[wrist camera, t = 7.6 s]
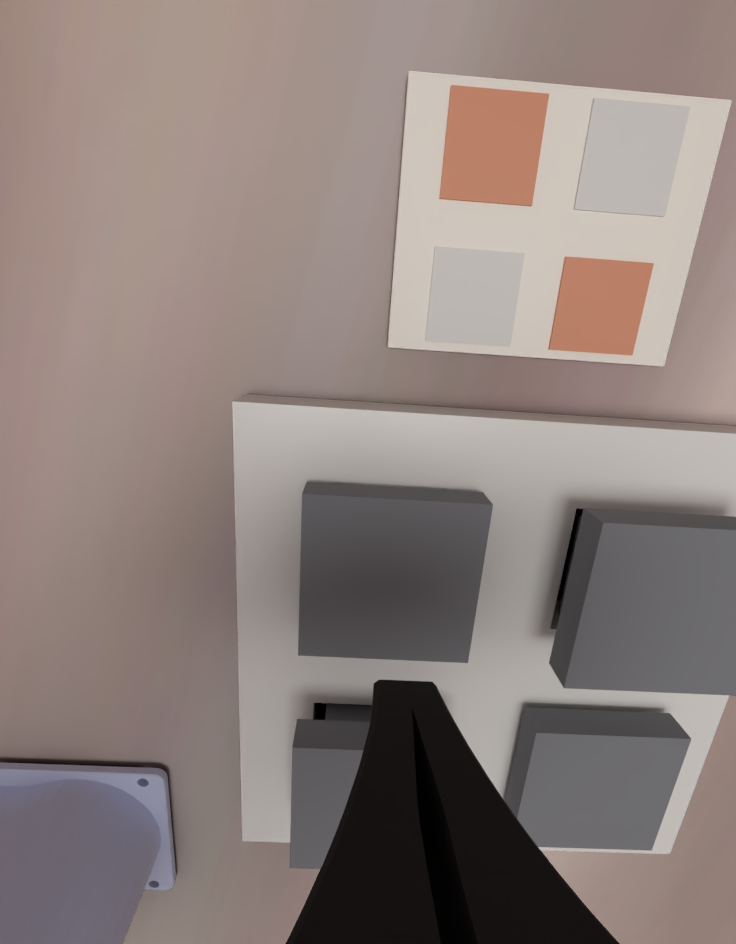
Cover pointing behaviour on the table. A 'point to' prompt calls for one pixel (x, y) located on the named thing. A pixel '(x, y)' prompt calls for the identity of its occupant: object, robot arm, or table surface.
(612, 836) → the button
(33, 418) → the table surface
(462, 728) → the button board
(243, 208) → the table surface
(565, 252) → the pattern card
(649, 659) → the button
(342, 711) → the button
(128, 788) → the robot arm
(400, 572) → the button
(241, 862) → the table surface
